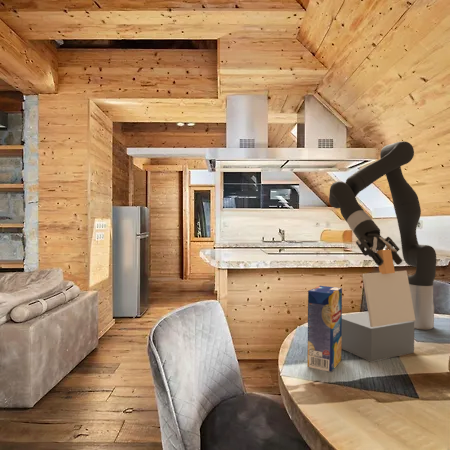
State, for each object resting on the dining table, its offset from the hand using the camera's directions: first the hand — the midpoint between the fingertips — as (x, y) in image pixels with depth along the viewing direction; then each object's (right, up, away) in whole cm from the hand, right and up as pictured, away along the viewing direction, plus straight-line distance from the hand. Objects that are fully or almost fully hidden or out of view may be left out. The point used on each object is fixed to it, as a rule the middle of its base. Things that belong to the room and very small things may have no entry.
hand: (390, 263), depth 114 cm
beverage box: (-23, -29, -6) cm, 37 cm away
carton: (-3, -29, +6) cm, 30 cm away
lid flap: (-1, -7, +1) cm, 8 cm away
